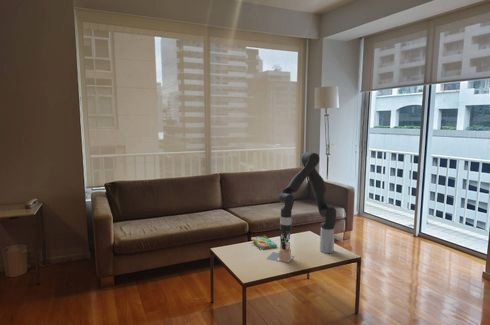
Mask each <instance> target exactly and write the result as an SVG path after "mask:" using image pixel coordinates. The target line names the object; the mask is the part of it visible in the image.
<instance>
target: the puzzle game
mask: <svg viewBox="0 0 490 325" xmlns="http://www.w3.org/2000/svg"><path fill="white" fill-rule="evenodd" d="M250 239H251V241H253V244H255V246H257V247H258V249H260V250H265V249H267V250H268V249H272V248H277V246H278V244H277V243H276V242H274V241H273V240H272V239H270V238H269V237H267V236H266V235H262V236H261V235H260V236H254V237H251V238H250Z"/></svg>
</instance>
